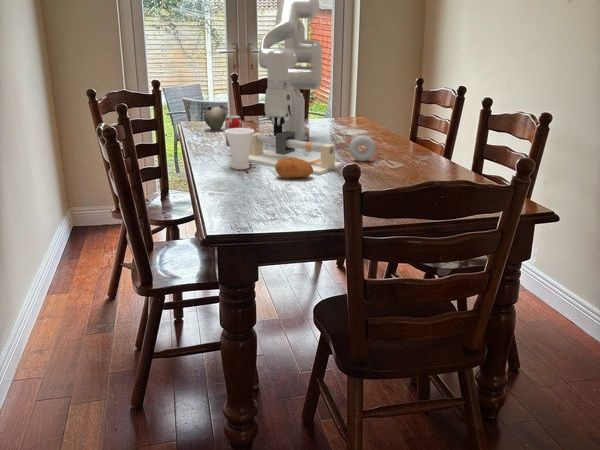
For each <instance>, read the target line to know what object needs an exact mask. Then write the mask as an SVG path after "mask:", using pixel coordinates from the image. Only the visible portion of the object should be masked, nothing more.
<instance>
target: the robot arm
mask: <svg viewBox="0 0 600 450" xmlns="http://www.w3.org/2000/svg"><path fill="white" fill-rule="evenodd" d="M276 7H277V12H276V17H275V24H274V26H273V27H272V28H270V29H269V30H268V31H267V32H266V33H265V34H264V35H263V37H262V38H261V40H260V43H259V44H260V45H259V50H258V56H257V58H258V59H257V61H258V65H259V66H260V68H262V69H263V70H267V88H266V89H265V96H264V114H265V118H266V119H268V120H270V121H271V124H272V125H273V137H276V134H277V133H281V132H285V131H292V132H295V140H298V141H304V142H307V141H308V139H309V138H308V136H307V135H306V133H309V132H310V129H309V128H308V127H307V128H305V105H306V104H305V96H304V95H303V94H302V92H301V91H300V90H318V89H320V87H321V84H322V78H323V77H322V76H323V75H322V74H323V73H322V72H323V71H322V67H323V66H322V65H323V48H322V44H321V42H320V41H319V40H316V39H306V38H305V37H306V36H305V30H306V29H305V25H304V23H303V21H302V20H301V19H315V18H317V16H318V14H319V11H320V0H276ZM281 42H283V43H284V44H283V45H284V47H283V48H280V47H279V48H278V47H277V48H275V47H273V46H274V45H276V44H278V43H281ZM297 64H310V66H305V65H304V66H303V65H297Z"/></svg>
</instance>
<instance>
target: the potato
mask: <svg viewBox="0 0 600 450" xmlns="http://www.w3.org/2000/svg"><path fill="white" fill-rule="evenodd" d="M274 168H275V172H276V173H277V174H278V176H279V177H281V178H283V179H293V178H294V179H297V178H308V177H309V176H311V175H313V174H312V172H313V168H312V166H311V165H310V163H308V162H307V161H304V160H301V159H298V158H295V157H292V158H284V159H281V160H279V161H278V162H277V164H276V166H275V167H274Z"/></svg>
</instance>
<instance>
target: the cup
mask: <svg viewBox="0 0 600 450" xmlns="http://www.w3.org/2000/svg"><path fill="white" fill-rule="evenodd" d="M254 132H255V129H252V128H247V127H242V128H231V129H227V130H224V133H225V137H226V136H227V139H228V142H229V145H228V146H229V148H230V149H229V150H230V152H231V160H232V161H231V169H234V170H247V169H249V168H250V162H249V149H250V144H251V141H252V137H253V134H254Z"/></svg>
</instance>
